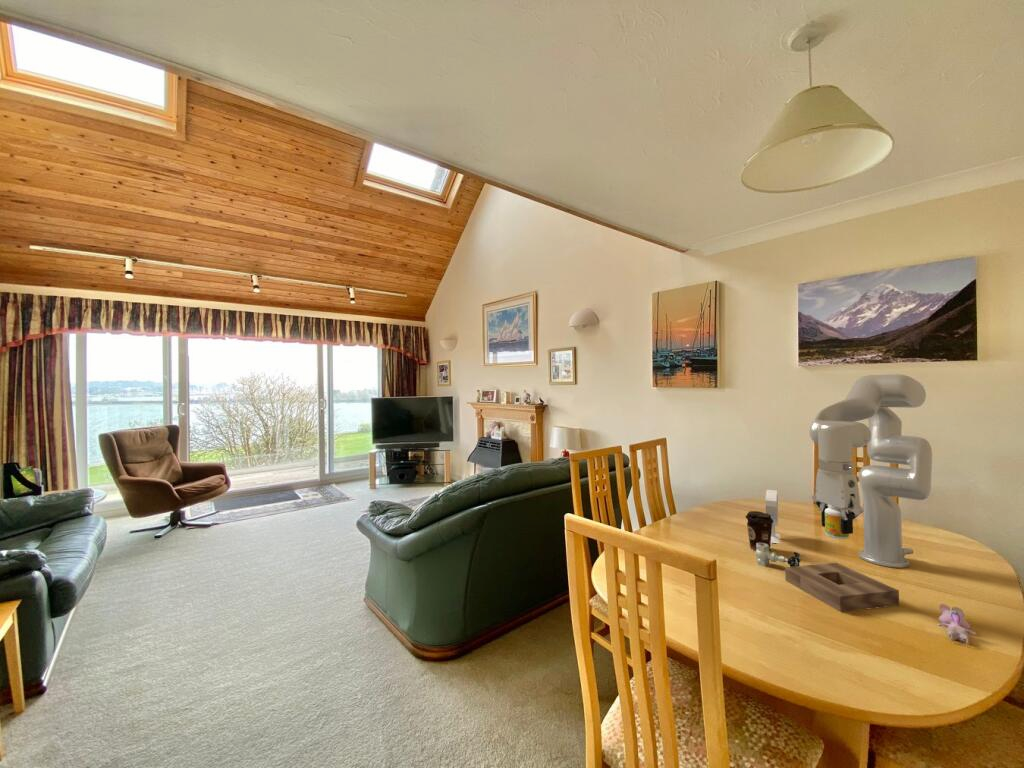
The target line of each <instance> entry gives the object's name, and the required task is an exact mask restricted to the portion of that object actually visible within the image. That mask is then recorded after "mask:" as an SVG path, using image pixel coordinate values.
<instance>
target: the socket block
mask: <svg viewBox="0 0 1024 768" xmlns="http://www.w3.org/2000/svg"><path fill="white" fill-rule="evenodd" d="M784 569H785V571H784V573H785V574H784V575H785V581H786V582H787V581H788V582H787V583H789V584H791V585H792V586H795V587H796V588H798V589H799V590H802V591H803V592H805V593H806V594H809V595H811V596H812V597H814V598H816V599H818V600H819V601H820V602H822V603H824V604H826V605H828V606H829V607H831V608H832V609H835V610H837V611H838V612H841V613H843V612H851V611H860V609H862V610H868V609H867V608H871V609H877V608H876V607H880V608H885V607H884V606H889V607H894V606H893V605H898V606H900V592H899V589H896V588H894V587H892V586H890V585H887V584H885V583H883V582H881V581H879V580H876V579H874V578H873V577H871V576H870V577H869V576H867V575H865V574H863V573H861V572H858V571H857V570H854V569H852V568H849V567H847V566H845V565H843V564H841V563H838V562H830V563H828V562H827V563H820V564H810V565H809V564H807V565H799V566H795V567H790V566H787V567H786V566H785V567H784Z"/></svg>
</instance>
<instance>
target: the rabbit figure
mask: <svg viewBox="0 0 1024 768" xmlns="http://www.w3.org/2000/svg"><path fill="white" fill-rule="evenodd" d="M939 610H940V612H941V613H942V614H941V615H940V616H939V617H938V620H939V622H940V623H937V626H938V627H947V630H946V634H947V637H948V638H949V641H950V642H954V643H956V641H957V640H959V641H960V642H961V643H964V644H965V646H967V647H969V646H970V647H971V644H970V640H971V639H970V635H969V633H970V634H972V635H974V636H977V633H976V632H975V631H972V630H970V629H969V628H970V627H971V625H970V624H969V622H967V620H966V619H965V612H964V611H963V610H962V609H961V608H959V607H957V606H953V607H951V608H950V606H949V605H947V604H944V603H941V604H940V605H939Z"/></svg>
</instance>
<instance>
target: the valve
mask: <svg viewBox="0 0 1024 768" xmlns="http://www.w3.org/2000/svg"><path fill="white" fill-rule="evenodd" d="M756 548H757V550H756V551H755V557H756V564H757V565H759V566H763V567H769V566H770V561H771V562H772V563H776V562H778V561H779V563H783V564H785V563H787V564H788V565H789V567H795V566H800V563H801V558H800V556H801V554H800V553H798V552H796V551H793V555H794V556H793V555H792V556H791V557H788V558H786V557H785V556H783V555H777V552H774V551H770V552H769V545H768V544H765V543H756Z"/></svg>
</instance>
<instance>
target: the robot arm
mask: <svg viewBox="0 0 1024 768" xmlns="http://www.w3.org/2000/svg"><path fill="white" fill-rule="evenodd" d="M926 396H927V393H926V389H925V388H924V386H923V384H921V382H919V381H918V380H917V379H915V378H913V377H910V376H908V375H905V374H897V373H896V374H873V375H872V374H871V375H870V374H869V375H864V376H861V377H859V378H857V380H856V381H855V382H854V383H853V385H852V387H851V389H850V390H849V392H848V394H847V395H846V397H845V399H842V400H840V401H837V402H835V403H833V404H830V405H828V406H826V407H824V408H823V409H821V410H820V411H819V412H818V413H817V414H816V415H815V417H814V419H813V421H812V423H811V425H810V427H809V437H810V439H811V440H812V442H814V443H815V444H818V445H817V446H818V448H817V450H818V469H817V472H816V476H815V493H814V494H813V495H812V496H811V499H812V500H813V501H814V502H815V504H816V505H817V507H818V510H819V512H820V516H821V520H820V521H821V527H823V528H825V509H826V508H829V507H828V504H829V505H832V506H834V507H837V508H840V511H841V514H842V517H843V519H841V533H842V534H849V535H851V534H853V533H854V524H853V523H854V520H856V518H857V517H859V515H861V514H863V540H864V541H863V543H864V545H863V546H864V549H862V550H859V551H858V556H859V557H860V558H861V559H862V560H864V561H866V562H868V563H871V564H874V565H879V566H884V567H889V568H907V567H909V566H910V562H909V560H908V558H905V556H906V555H913V554H914V550H913V549H912V548H911V547H905V548H904V547H903V535H902V534H903V533H902V532H903V531H902V528H903V527H902V511H901V508H900V506H899V505H898V503H897V501H896V500H894V497H895V498H902V499H907V500H915V501H923V500H927V499H928V498H929V497H930V494H931V491H932V490H931V489H932V488H931V487H932V468H933V467H932V466H933V465H932V464H933V451H932V450H933V449H932V445H931V443H930V442H929V441H928V440H927V439H926V438H924V437H922V436H921V437H920V436H915V435H914V436H912V435H902V429H903V428H902V427H903V426H902V425H903V423H902V420H901V418H900V417H899V416H898V414H896V413H895V412H894V411H893V410H891V408H905V409H906V408H908V409H911V408H912V409H914V408H920V407H921V406H922V405H924V403H925V401H926V398H927V397H926ZM865 420H867V421H868V425H866V424H864V423H862V422H860V421H865ZM864 446H866V454H867V456H868V458H869V459H871V460H872V461H874V462H875V461H876V462H880V463H888V464H895V465H905V466H909V467H910V468H902V467H895V466H894V467H893V466H886V465H865V466H863V467H861V469H860V470H859V472H858V480H857V476H856V474H855V473H853V471H854V470H855V466H854V465H853V463H852V462H853V461H852V460H853V459H852V458H853V456H852V448H863V447H864ZM858 481H859V484H858ZM859 485H860V489H861V495H862V496H860V489H859ZM861 497H862V506H863V507H862V506H861ZM846 511H847V512H848V514H847V512H846Z"/></svg>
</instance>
